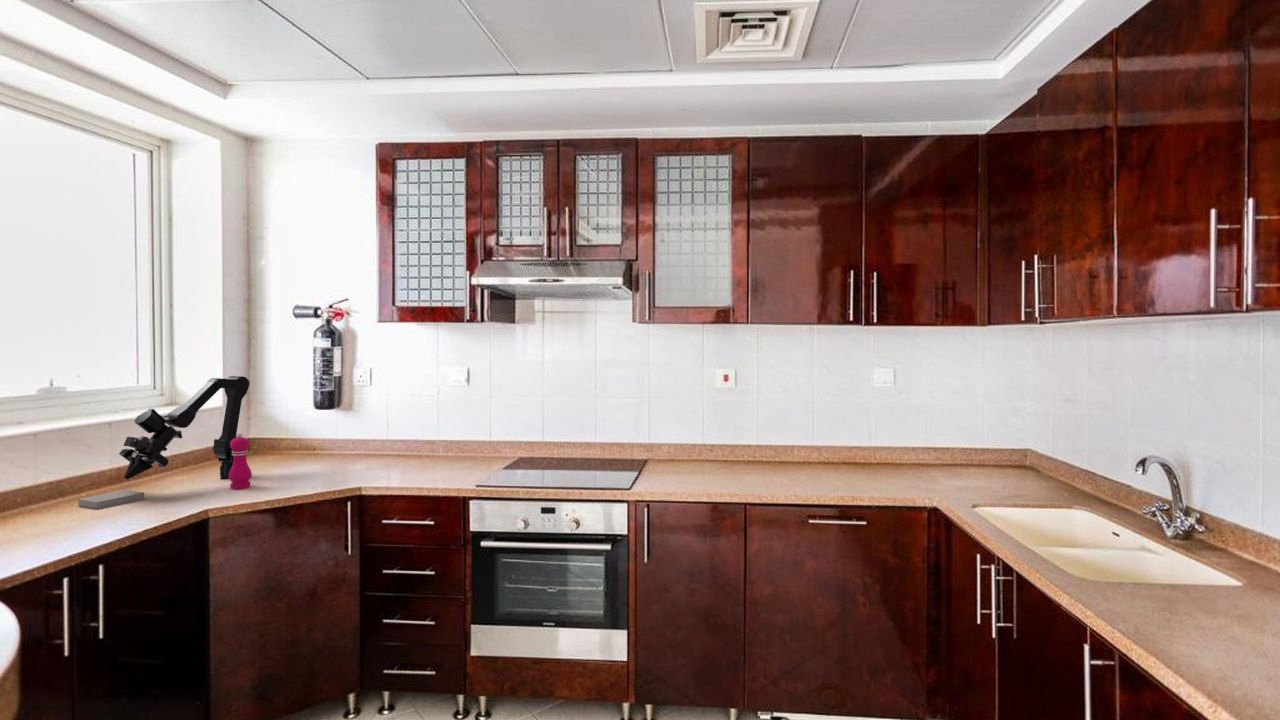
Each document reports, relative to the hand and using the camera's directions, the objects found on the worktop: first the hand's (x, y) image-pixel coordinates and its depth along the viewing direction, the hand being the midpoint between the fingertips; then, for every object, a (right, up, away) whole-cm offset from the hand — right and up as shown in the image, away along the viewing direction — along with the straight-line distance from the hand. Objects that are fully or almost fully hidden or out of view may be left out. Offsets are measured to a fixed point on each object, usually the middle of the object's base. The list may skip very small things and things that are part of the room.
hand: (125, 478), depth 223 cm
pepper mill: (+28, -7, +18) cm, 34 cm away
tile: (+1, -6, +3) cm, 7 cm away
